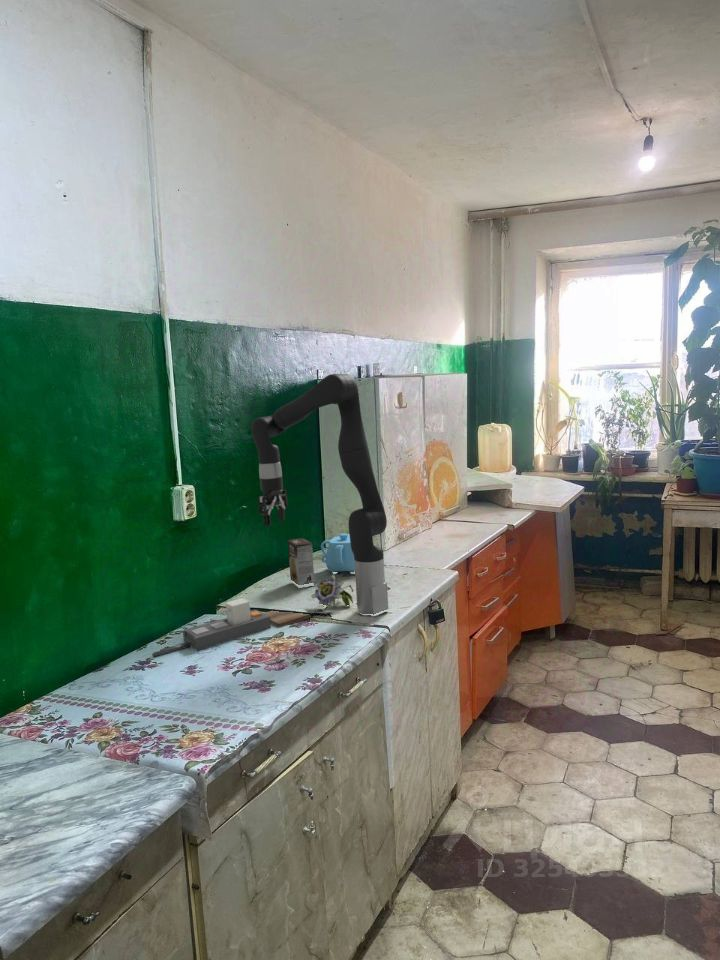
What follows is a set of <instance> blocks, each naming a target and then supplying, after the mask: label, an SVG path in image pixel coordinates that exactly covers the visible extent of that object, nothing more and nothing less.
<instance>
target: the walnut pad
mask: <svg viewBox="0 0 720 960" xmlns="http://www.w3.org/2000/svg"><path fill="white" fill-rule="evenodd" d="M263 613H264V614H266V615H268V616H270V623H271V624H272V625H274V626H276V627H278V628H280V627H284V626H288V625H290V624H293V623H297V622H300V621H303V620H307V619H310V618H309V616H310V615H309V614H303V613H293V612H279V611H273V610H270V611H266V612H263Z"/></svg>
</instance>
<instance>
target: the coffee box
mask: <svg viewBox="0 0 720 960" xmlns="http://www.w3.org/2000/svg"><path fill="white" fill-rule="evenodd" d="M287 551H288V552H287V553H288V563H289V572H290V573H289V574H290V581H291V580H292V581H294V582H295V583H296V584H298V585H304V584H309V583H314V582H315V572H314V571H315V570H314V555H313V553H314V552H313V543H312V542H311V541H309V540H308V539H305V538H303V537H301V538H295V539H288V540H287Z"/></svg>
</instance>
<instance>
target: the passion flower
mask: <svg viewBox="0 0 720 960" xmlns="http://www.w3.org/2000/svg"><path fill="white" fill-rule="evenodd" d="M344 584H345V581H344V580H340V581H337V582H336V574H331V575H330V577H328V578H326V579H323V580H322V579H321V580H320V581H319V583H318V585H317V587H318V588H317V589H315V591H314V593H313V594H312V595H311V596H310V597H311V598H312V599H315V598H316V599H317V600H318V605H319V604H323V605H326V606H327V605H328V606H330V607H332V608H334V606H335V605H336V600H337V599H338V600H339V599H342V601H343V603H344V605H345V606H347V605H349V606H350V602H351V604H354V602H353V601H354V600H353V596H352V595H351V594H350V593H349V592H348V591H346V590H345V589H347V588H348V587H349V588H350V591H351V592H354V589H353V587H352V585H351V584H350V585H349V584H348V585H347V586H345V587H342V586H343V585H344ZM323 605H322V606H323Z"/></svg>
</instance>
